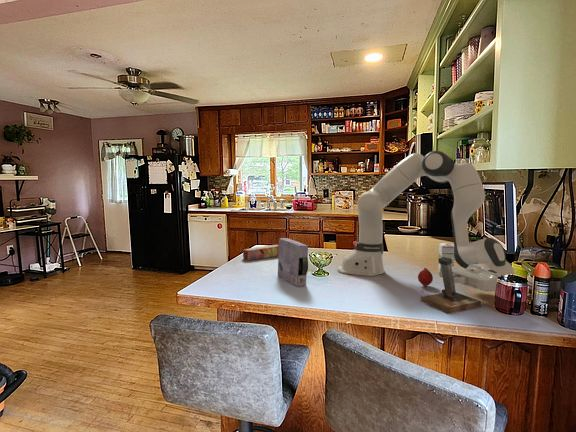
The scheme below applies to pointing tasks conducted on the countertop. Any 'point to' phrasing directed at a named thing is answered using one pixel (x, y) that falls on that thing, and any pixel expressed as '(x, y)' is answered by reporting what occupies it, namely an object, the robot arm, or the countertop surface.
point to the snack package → (261, 252)
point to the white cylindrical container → (446, 252)
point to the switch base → (450, 302)
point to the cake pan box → (293, 261)
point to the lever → (447, 276)
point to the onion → (425, 277)
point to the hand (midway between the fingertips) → (450, 279)
